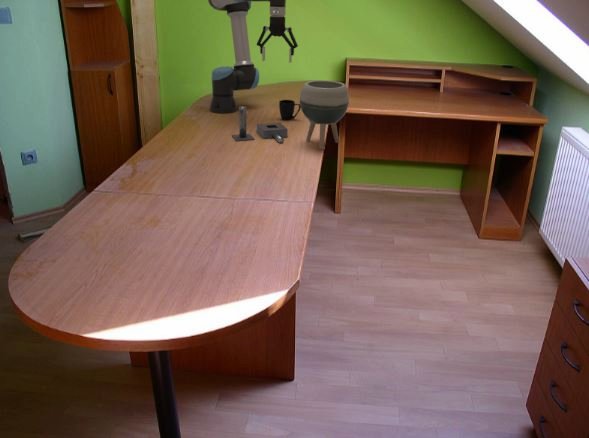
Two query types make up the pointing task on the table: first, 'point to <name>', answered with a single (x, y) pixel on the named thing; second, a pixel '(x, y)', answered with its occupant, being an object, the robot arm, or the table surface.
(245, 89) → the robot arm
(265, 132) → the block
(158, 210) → the table surface
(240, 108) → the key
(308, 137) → the planter
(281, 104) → the mug
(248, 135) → the mat
